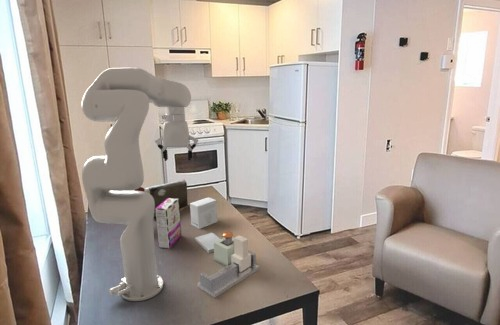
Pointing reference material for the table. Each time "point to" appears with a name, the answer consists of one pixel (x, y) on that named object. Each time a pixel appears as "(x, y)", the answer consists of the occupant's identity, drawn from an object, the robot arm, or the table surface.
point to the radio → (169, 193)
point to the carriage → (241, 253)
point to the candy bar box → (168, 222)
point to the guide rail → (226, 277)
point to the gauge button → (227, 238)
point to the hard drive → (207, 241)
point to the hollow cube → (223, 252)
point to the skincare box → (203, 212)
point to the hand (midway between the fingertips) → (178, 159)
